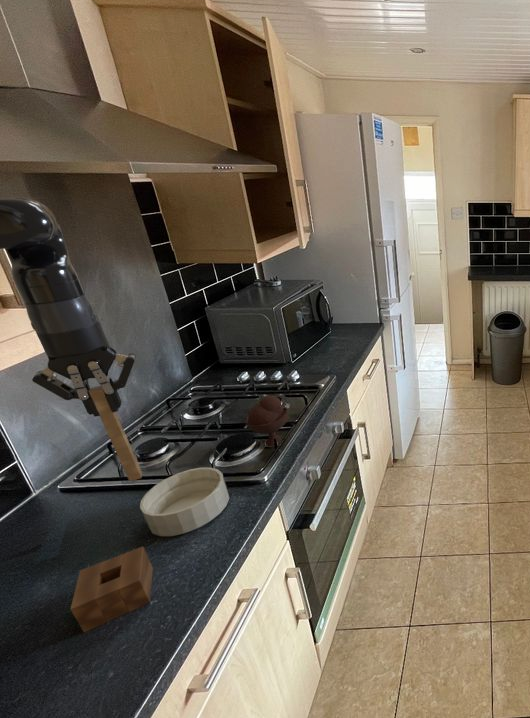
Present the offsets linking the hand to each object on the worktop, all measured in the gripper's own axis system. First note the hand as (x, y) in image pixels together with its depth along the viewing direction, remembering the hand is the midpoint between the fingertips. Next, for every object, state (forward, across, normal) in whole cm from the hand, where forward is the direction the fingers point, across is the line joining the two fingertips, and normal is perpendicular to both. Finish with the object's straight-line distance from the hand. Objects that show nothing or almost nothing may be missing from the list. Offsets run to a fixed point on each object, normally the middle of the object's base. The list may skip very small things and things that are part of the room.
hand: (106, 411), depth 76 cm
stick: (+15, 0, 0) cm, 15 cm away
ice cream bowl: (+34, -24, -27) cm, 50 cm away
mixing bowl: (+34, -4, -8) cm, 35 cm away
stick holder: (+33, +6, +10) cm, 35 cm away
